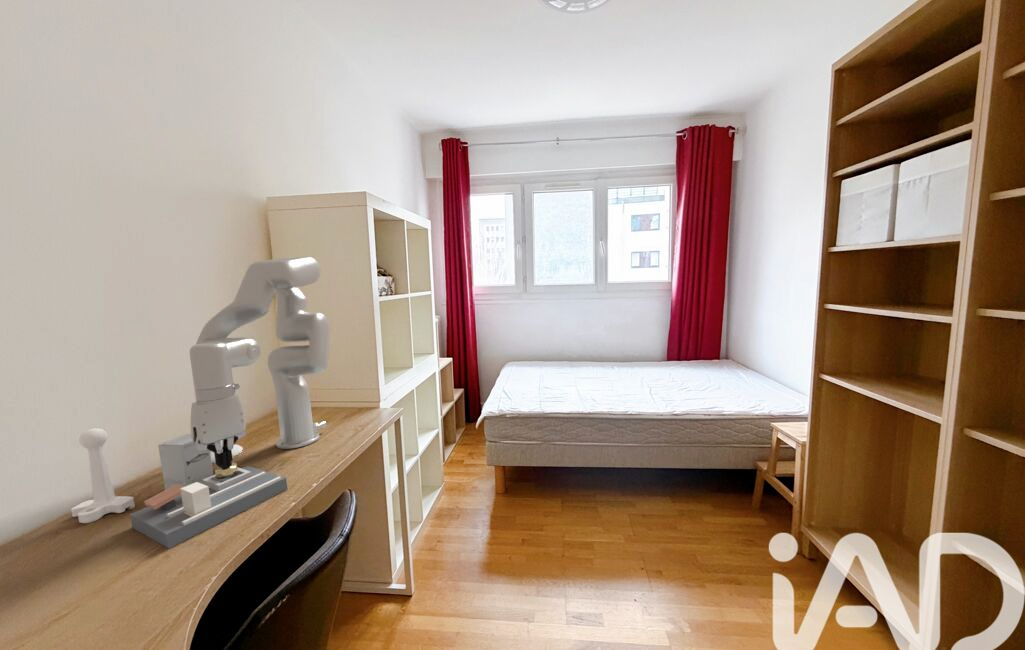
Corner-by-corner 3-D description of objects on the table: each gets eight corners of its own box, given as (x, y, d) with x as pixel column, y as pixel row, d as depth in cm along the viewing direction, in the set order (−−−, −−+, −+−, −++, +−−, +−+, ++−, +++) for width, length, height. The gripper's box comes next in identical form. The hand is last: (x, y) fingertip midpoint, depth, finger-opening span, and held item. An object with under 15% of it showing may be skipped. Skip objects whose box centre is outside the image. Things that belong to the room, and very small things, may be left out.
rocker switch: (178, 487, 91) (176, 483, 90) (187, 491, 89) (185, 487, 88) (145, 505, 86) (144, 501, 85) (154, 509, 83) (153, 505, 83)
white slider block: (199, 503, 87) (196, 481, 87) (211, 508, 85) (208, 486, 85) (183, 510, 85) (180, 488, 84) (195, 515, 82) (191, 493, 82)
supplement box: (187, 493, 99) (180, 445, 98) (164, 491, 101) (156, 444, 99) (215, 478, 106) (208, 433, 105) (192, 477, 108) (186, 433, 106)
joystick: (139, 503, 95) (126, 423, 93) (109, 522, 88) (94, 436, 86) (91, 507, 95) (76, 427, 93) (57, 526, 87) (40, 439, 85)
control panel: (249, 476, 106) (246, 460, 106) (287, 489, 98) (285, 472, 98) (132, 527, 85) (128, 507, 85) (168, 548, 77) (165, 527, 77)
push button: (231, 468, 101) (230, 461, 100) (241, 472, 98) (240, 464, 98) (212, 476, 97) (211, 469, 96) (221, 480, 95) (220, 472, 94)
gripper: (240, 384, 104) (248, 452, 105) (169, 400, 90) (180, 477, 92) (256, 387, 100) (264, 456, 102) (185, 403, 87) (196, 483, 89)
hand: (224, 466), depth 97 cm, fingers closed
